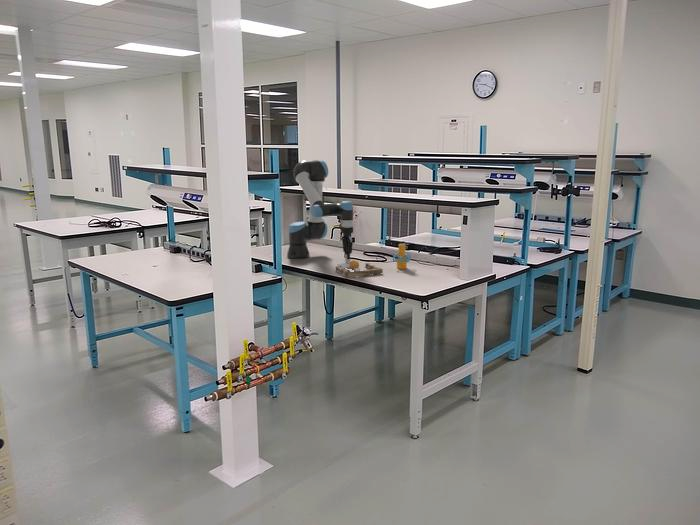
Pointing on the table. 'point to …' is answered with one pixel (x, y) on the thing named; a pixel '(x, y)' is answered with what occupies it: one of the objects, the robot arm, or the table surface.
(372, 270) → the pin pen
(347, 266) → the lane tape
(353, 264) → the ball
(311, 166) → the robot arm
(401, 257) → the orange toy figure
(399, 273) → the table surface
